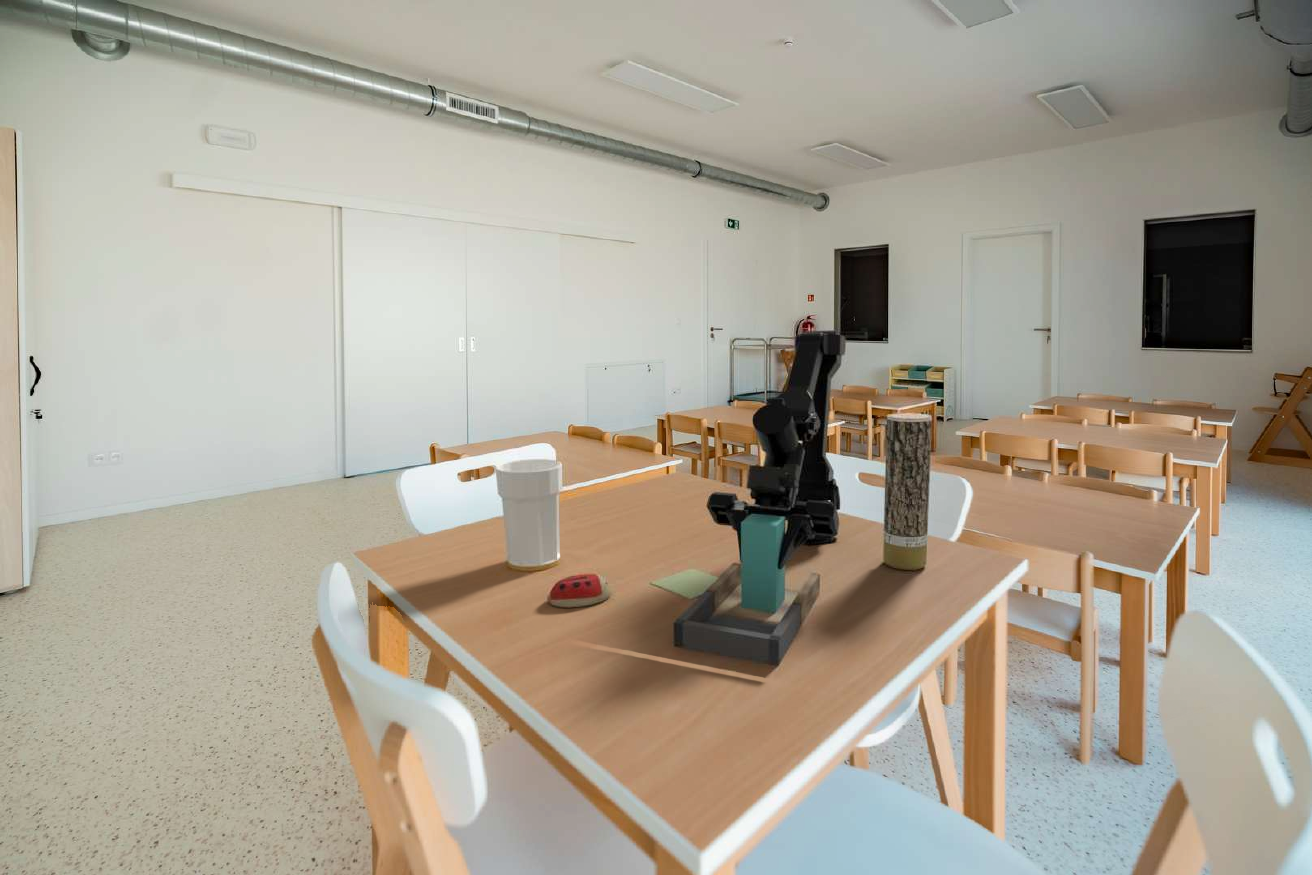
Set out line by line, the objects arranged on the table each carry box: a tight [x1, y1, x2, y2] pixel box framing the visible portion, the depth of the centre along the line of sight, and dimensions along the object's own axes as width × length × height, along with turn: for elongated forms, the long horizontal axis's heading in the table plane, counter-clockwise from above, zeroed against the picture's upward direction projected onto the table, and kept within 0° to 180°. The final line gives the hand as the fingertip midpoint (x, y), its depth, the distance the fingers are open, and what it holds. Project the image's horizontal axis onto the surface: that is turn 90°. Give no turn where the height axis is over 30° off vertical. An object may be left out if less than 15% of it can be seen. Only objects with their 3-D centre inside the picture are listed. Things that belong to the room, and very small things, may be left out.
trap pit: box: [673, 591, 801, 667], centre depth 87 cm, size 11×13×4 cm
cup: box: [495, 458, 563, 572], centre depth 118 cm, size 11×11×17 cm
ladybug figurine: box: [546, 573, 612, 609], centre depth 102 cm, size 7×10×4 cm
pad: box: [650, 568, 719, 600], centre depth 106 cm, size 9×9×1 cm
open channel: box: [706, 562, 821, 628], centre depth 98 cm, size 12×13×4 cm
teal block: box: [740, 514, 786, 613], centre depth 97 cm, size 5×5×12 cm
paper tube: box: [882, 412, 933, 571], centre depth 111 cm, size 7×7×25 cm
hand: (760, 565), depth 96 cm, fingers closed on teal block, 5 cm apart
